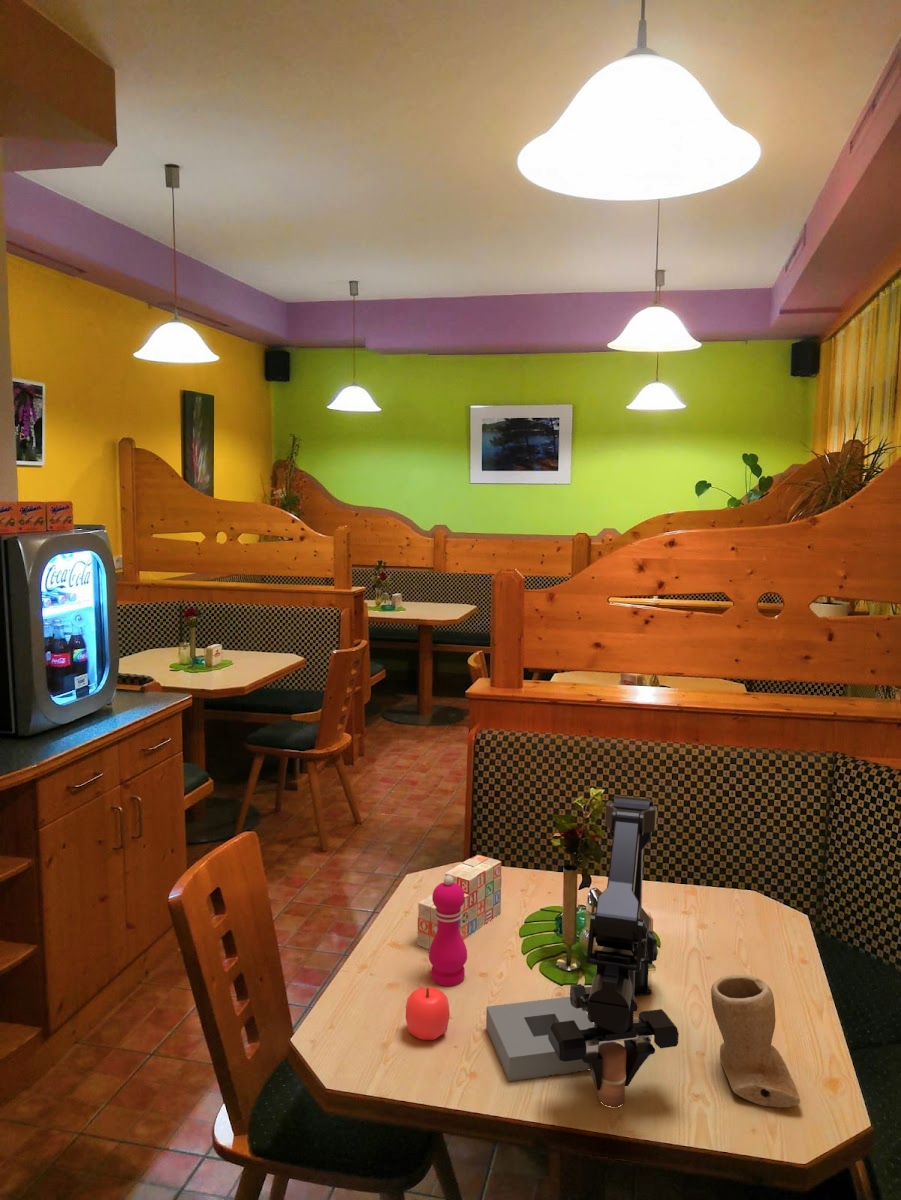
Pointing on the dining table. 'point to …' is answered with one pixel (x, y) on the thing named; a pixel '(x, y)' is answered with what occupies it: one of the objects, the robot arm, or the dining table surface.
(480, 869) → the stack of blocks
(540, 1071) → the hole block
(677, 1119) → the dining table surface
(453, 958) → the pepper mill
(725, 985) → the clay pipe bowl
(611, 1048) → the peg
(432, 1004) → the apple
